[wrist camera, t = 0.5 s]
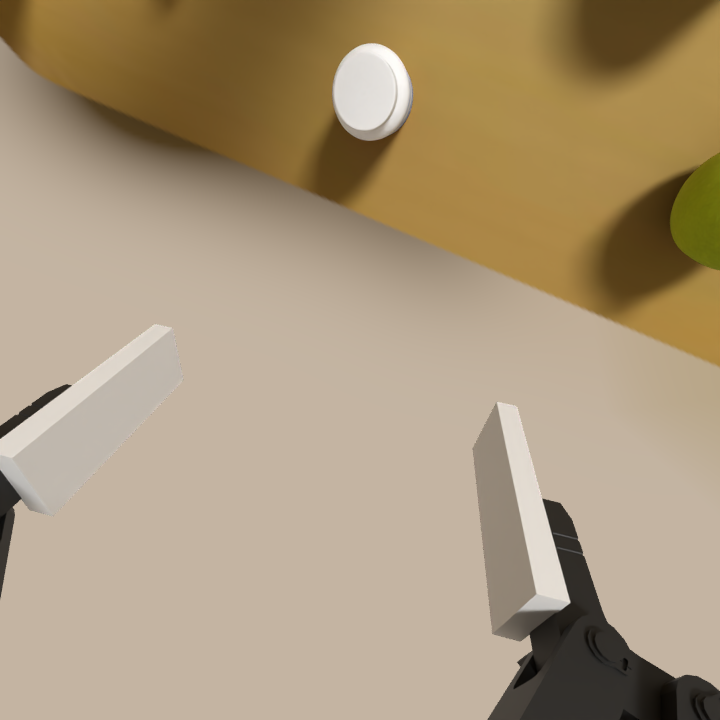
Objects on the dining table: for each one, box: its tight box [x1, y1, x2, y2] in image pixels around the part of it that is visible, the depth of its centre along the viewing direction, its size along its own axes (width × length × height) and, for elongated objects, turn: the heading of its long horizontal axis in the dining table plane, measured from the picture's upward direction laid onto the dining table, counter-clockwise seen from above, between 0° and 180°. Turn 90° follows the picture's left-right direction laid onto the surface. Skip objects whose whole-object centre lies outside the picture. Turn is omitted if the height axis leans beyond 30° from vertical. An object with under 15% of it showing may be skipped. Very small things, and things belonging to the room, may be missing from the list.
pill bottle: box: [332, 43, 413, 141], centre depth 26 cm, size 6×5×10 cm
